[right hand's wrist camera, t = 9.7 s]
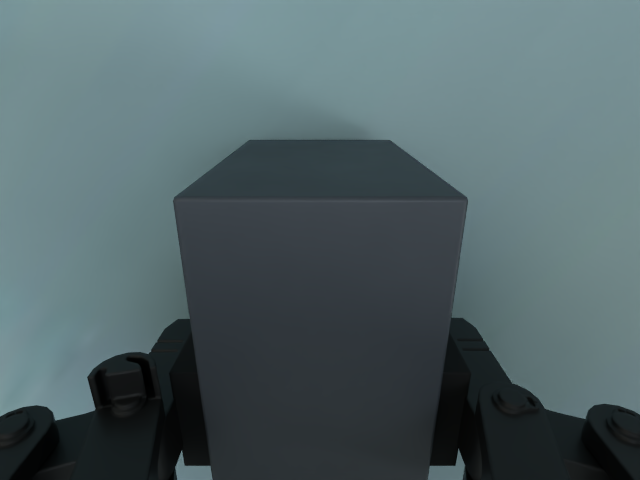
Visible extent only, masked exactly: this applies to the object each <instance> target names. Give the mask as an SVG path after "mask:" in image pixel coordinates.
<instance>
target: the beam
mask: <svg viewBox="0 0 640 480" xmlns="http://www.w3.org/2000/svg"><path fill="white" fill-rule="evenodd" d="M173 203H174V210H175V217H176V224H177V231H178V238H179V245H180V252H181V259H182V266H183V273H184V280H185V288H186V295H187V302H188V309H189V316H190V323H191V330H192V337H193V344H194V351H195V358H196V365H197V372H198V379H199V386H200V393H201V401H202V408H203V415H204V422H205V429H206V436H207V443H208V450H209V457H210V464H211V471H212V478H213V480H428V474H429V467H430V460H431V453H432V446H433V439H434V432H435V425H436V418H437V411H438V405H439V398H440V391H441V384H442V377H443V370H444V363H445V356H446V349H447V342H448V335H449V328H450V321H451V315H452V308H453V301H454V294H455V287H456V280H457V273H458V266H459V259H460V252H461V245H462V238H463V232H464V225H465V218H466V211H467V204H468V200H467V197H466V196H464V195H463V194H462V193H460V192H459V191H458V190H456V189H455V188H454V187H452V186H451V185H449V184H448V183H447V182H445V181H444V180H443V179H441V178H440V177H439V176H437V175H436V174H435V173H433V172H432V171H431V170H429V169H428V168H427V167H425V166H424V165H423V164H421V163H420V162H419V161H417V160H416V159H415V158H413V157H412V156H411V155H409V154H408V153H407V152H405V151H404V150H402V149H401V148H400V147H398V146H397V145H396V144H394V143H393V142H392V141H390V140H249V141H248V142H246V143H245V144H244V145H242V146H241V147H240V148H238V149H237V150H236V151H235V152H233V153H232V154H231V155H229V156H228V157H227V158H225V159H224V160H223V161H221V162H220V163H219V164H217V165H216V166H215V167H214V168H212V169H211V170H210V171H208V172H207V173H206V174H204V175H203V176H202V177H200V178H199V179H198V180H196V181H195V182H194V183H193V184H191V185H190V186H189V187H187V188H186V189H185V190H183V191H182V192H181V193H179V194H178V195H177V196H175V197H174V200H173Z"/></svg>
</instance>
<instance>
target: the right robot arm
mask: <svg viewBox="0 0 640 480" xmlns="http://www.w3.org/2000/svg"><path fill="white" fill-rule="evenodd" d="M87 378H88V382H89V386H90V389H91V393H92V397H93V401H94V404H95V408H96V409H95V411H92V412H89V413H86V414H82V415H78V416H74V417H69V418H65V419H61V420H57V421H55V418H54V415H53V412H52V411H51V410H49V409H48V408H47V407H43V406H37V405H36V406H29V407H22V408H19V409H17V410H14V411H11V412H8V413H6V414H4V415H3V416H1V417H0V480H177V475H176V470H175V466H176V464H177V461H178V458H179V456H180V453H181V451H182V452H183V458H184V464H185V466H211V464H210V457H209V450H208V443H207V436H206V429H205V422H204V415H203V408H202V401H201V393H200V386H199V379H198V372H197V365H196V358H195V351H194V344H193V337H192V330H191V323H190V319H178V320H176V321H175V322H174V323H172V324H171V325H170V326H168V327H167V328H165V330H164V331H163V333H162V334H161V336H160V337H159V339H158V340H157V343H155V345H154V346H153V348H152V350H151V352H150V353H149V354H145V353H141V352H133V353H125V354H121V355H117V356H114V357H112V358H110V359H108V360H106V361H103V362H102V363H101V364H99V365H98V366H97V367H95V368H94V369H93V370H92V372H91V373H90V374H89V376H88V377H87ZM458 448H459V451H460V453H461V456H462V458H463V461H464V464H465V470H464V475H463V480H640V415H639V414H638V413H636V412H634V411H632V410H629V409H626V408H623V407H620V406H616V405H609V404H601V405H594V406H593V407H592V408H591V409H590V410H588V413H587V416H586V419H582V418H578V417H573V416H569V415H565V414H560V413H556V412H553V411H550V410H546V409H545V408H544V407H543V405H542V404H541V402H540V400H539V399H538V398H537V397H535V396H534V395H533V394H532V393H531V392H530V391H528V390H526V389H524V388H522V387H520V386H518V385H515V384H512V383H511V381H510V380H509V378H508V377H507V375H506V374H505V372H504V371H503V369H502V367H501V366H500V364H499V363H498V361H497V360H496V358H495V357H494V355H493V354H492V352H491V351H489V348H488V346H487V344H486V343H485V341H483V338H482V337H481V335H480V334H479V332H478V331H477V329H476V328H475V327H474V326H473V325H471V324H470V323H468V322H467V321H466V320H464V319H463V318H451V321H450V328H449V335H448V342H447V349H446V356H445V363H444V370H443V377H442V384H441V391H440V398H439V405H438V411H437V418H436V425H435V432H434V439H433V446H432V453H431V460H430V466H455V465H456V459H457V453H458Z"/></svg>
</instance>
